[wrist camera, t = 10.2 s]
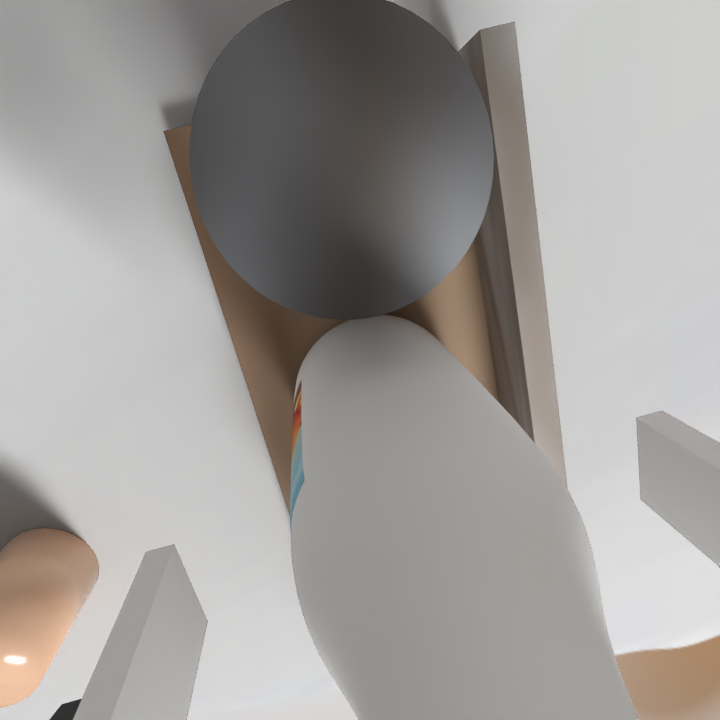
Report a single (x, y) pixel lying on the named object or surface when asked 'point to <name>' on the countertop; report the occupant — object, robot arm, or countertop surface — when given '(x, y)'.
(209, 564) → the countertop surface
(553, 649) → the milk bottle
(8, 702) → the peach rounded cylinder
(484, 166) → the rack
